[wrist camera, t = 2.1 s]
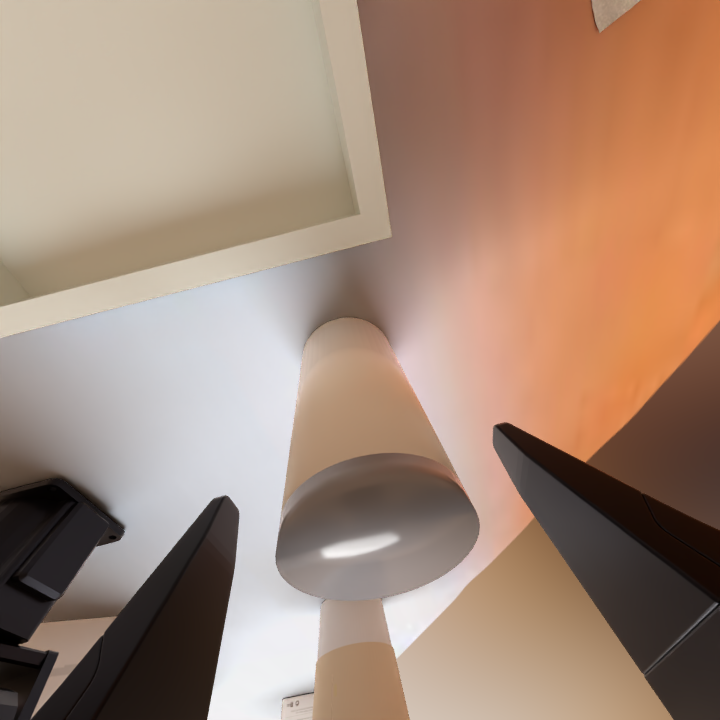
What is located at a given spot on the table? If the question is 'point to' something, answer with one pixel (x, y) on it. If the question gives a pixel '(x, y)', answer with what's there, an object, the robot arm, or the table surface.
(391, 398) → the jar
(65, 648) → the pizza boxes
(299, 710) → the supplement box
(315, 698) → the coffee cup
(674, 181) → the table surface
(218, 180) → the tray
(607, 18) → the condiment
